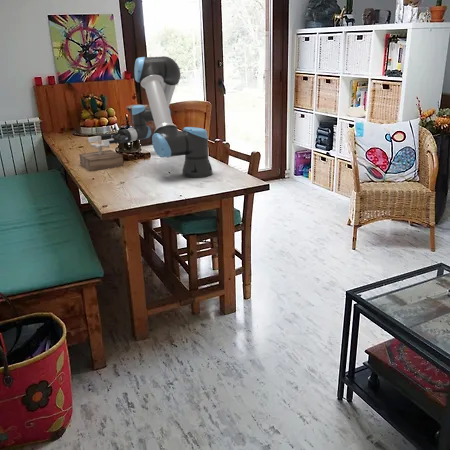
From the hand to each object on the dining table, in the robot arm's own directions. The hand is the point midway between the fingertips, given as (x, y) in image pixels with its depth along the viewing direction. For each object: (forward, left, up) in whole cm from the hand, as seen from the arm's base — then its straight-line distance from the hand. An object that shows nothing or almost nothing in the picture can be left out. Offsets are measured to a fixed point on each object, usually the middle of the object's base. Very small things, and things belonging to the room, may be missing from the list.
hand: (95, 141), depth 250 cm
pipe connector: (+1, -2, -8) cm, 8 cm away
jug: (+43, -45, -14) cm, 63 cm away
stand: (+1, -2, -13) cm, 14 cm away
